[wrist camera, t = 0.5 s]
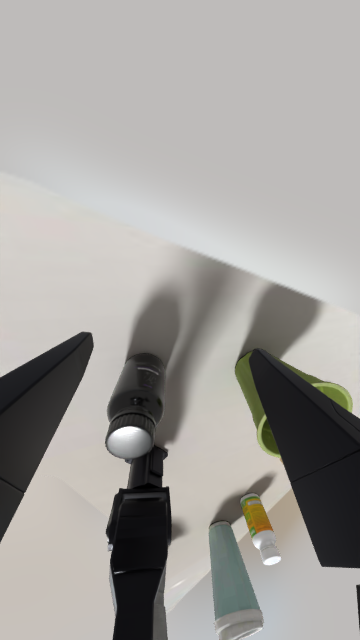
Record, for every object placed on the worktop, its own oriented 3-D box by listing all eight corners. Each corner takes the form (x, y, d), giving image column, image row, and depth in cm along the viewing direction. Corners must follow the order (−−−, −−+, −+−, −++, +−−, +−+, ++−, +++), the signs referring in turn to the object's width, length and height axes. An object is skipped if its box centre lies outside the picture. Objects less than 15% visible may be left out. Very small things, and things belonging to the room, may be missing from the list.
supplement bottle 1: (159, 347, 26) (156, 410, 15) (168, 380, 28) (172, 457, 17) (117, 357, 26) (82, 428, 14) (130, 389, 28) (108, 473, 17)
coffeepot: (179, 546, 48) (188, 701, 31) (163, 561, 50) (164, 714, 33) (131, 540, 44) (112, 714, 27) (117, 557, 46) (90, 728, 29)
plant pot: (232, 401, 31) (267, 470, 21) (214, 353, 27) (247, 408, 17) (288, 379, 31) (354, 438, 20) (279, 327, 27) (354, 366, 16)
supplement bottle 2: (240, 494, 42) (261, 558, 33) (259, 490, 42) (286, 552, 33) (239, 506, 44) (259, 569, 35) (257, 502, 44) (282, 563, 35)
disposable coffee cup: (243, 518, 46) (278, 629, 32) (224, 538, 49) (250, 648, 35) (212, 514, 44) (235, 632, 30) (194, 535, 46) (208, 653, 32)
